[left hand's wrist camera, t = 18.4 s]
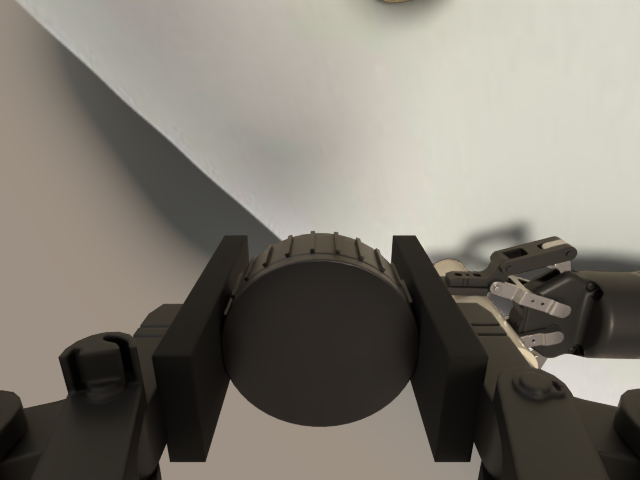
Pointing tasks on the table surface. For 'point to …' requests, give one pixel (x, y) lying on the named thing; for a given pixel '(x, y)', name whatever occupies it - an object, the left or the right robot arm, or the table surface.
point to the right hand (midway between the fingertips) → (436, 310)
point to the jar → (484, 301)
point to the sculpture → (395, 1)
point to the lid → (320, 331)
